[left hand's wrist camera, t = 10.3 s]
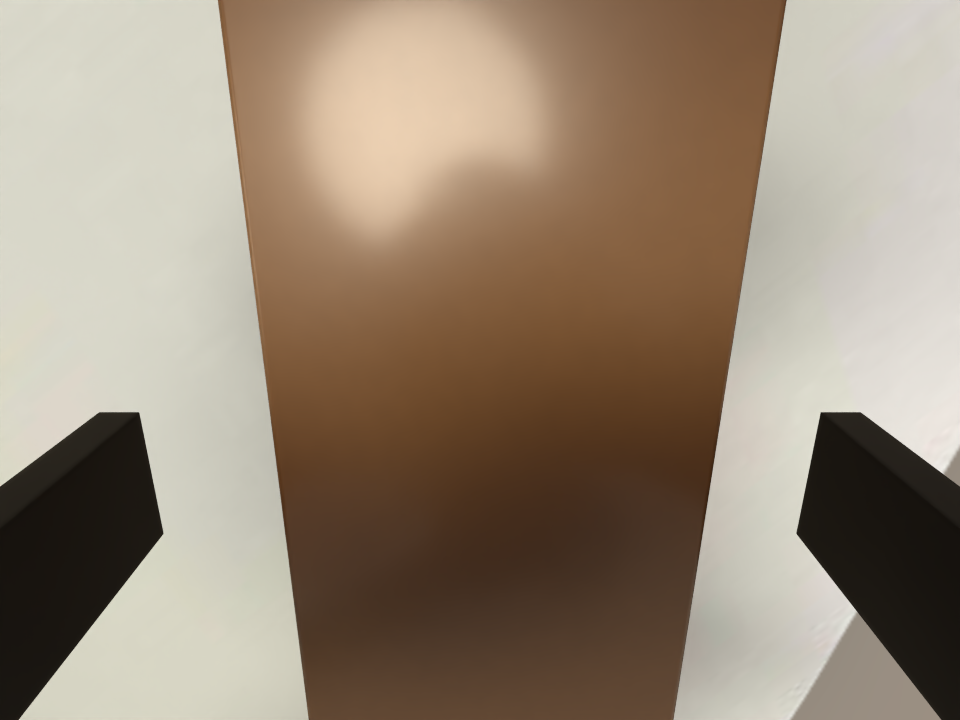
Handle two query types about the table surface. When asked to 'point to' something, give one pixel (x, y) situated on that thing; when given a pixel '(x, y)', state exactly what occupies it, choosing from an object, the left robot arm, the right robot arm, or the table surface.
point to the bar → (497, 333)
